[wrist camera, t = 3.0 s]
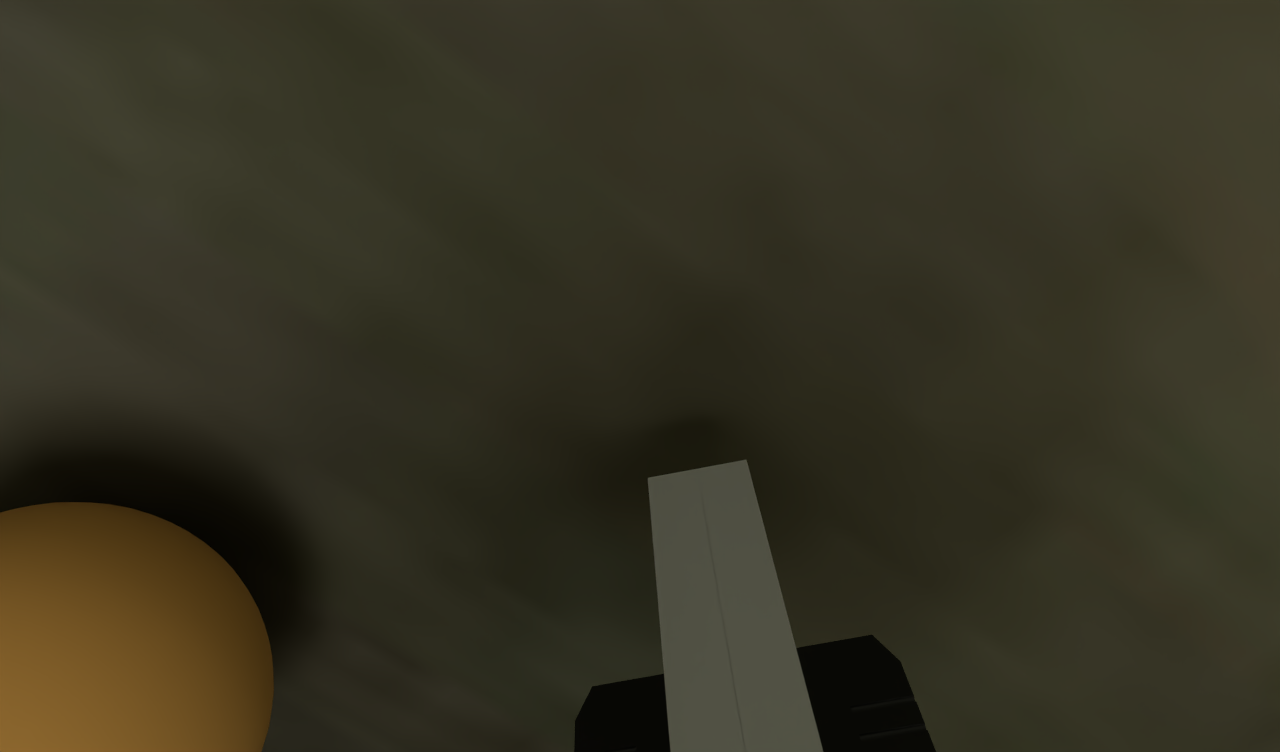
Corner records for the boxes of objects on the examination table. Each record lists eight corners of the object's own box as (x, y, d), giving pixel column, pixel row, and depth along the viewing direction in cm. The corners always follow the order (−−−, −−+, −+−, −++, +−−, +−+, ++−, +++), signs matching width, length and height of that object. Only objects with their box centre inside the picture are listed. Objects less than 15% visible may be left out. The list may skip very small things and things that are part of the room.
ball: (360, 677, 19) (263, 995, 13) (57, 731, 19) (-160, 1063, 13) (244, 400, 16) (64, 654, 11) (-105, 467, 16) (-453, 747, 11)
